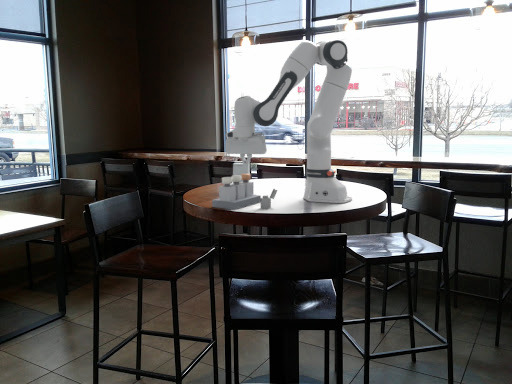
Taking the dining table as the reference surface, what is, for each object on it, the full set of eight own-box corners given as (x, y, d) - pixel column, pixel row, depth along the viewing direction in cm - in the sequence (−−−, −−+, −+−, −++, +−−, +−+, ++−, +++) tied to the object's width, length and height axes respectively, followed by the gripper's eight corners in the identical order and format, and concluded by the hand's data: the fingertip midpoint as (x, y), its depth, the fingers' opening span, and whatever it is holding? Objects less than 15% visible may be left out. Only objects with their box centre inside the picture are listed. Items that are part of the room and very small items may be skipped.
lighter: (261, 208, 187) (261, 189, 186) (260, 207, 189) (260, 189, 188) (277, 207, 189) (277, 188, 188) (276, 206, 191) (276, 188, 190)
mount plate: (260, 202, 202) (260, 182, 200) (234, 209, 185) (234, 188, 184) (239, 199, 208) (238, 180, 207) (212, 206, 192) (211, 186, 190)
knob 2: (252, 194, 203) (252, 173, 201) (247, 195, 199) (246, 175, 198) (244, 193, 205) (244, 173, 204) (239, 194, 202) (238, 174, 200)
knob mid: (243, 196, 197) (243, 175, 195) (238, 198, 193) (237, 176, 192) (235, 195, 199) (235, 175, 198) (230, 197, 196) (229, 176, 194)
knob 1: (234, 199, 191) (234, 177, 190) (228, 200, 188) (228, 178, 186) (226, 198, 194) (226, 176, 192) (220, 199, 190) (219, 177, 188)
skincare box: (232, 191, 232) (232, 163, 229) (234, 190, 238) (234, 162, 235) (248, 192, 231) (248, 163, 228) (250, 190, 237) (249, 162, 234)
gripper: (268, 132, 195) (269, 163, 197) (231, 133, 206) (232, 162, 208) (260, 133, 189) (262, 165, 192) (222, 133, 201) (224, 164, 203)
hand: (246, 164), depth 200 cm, fingers closed
